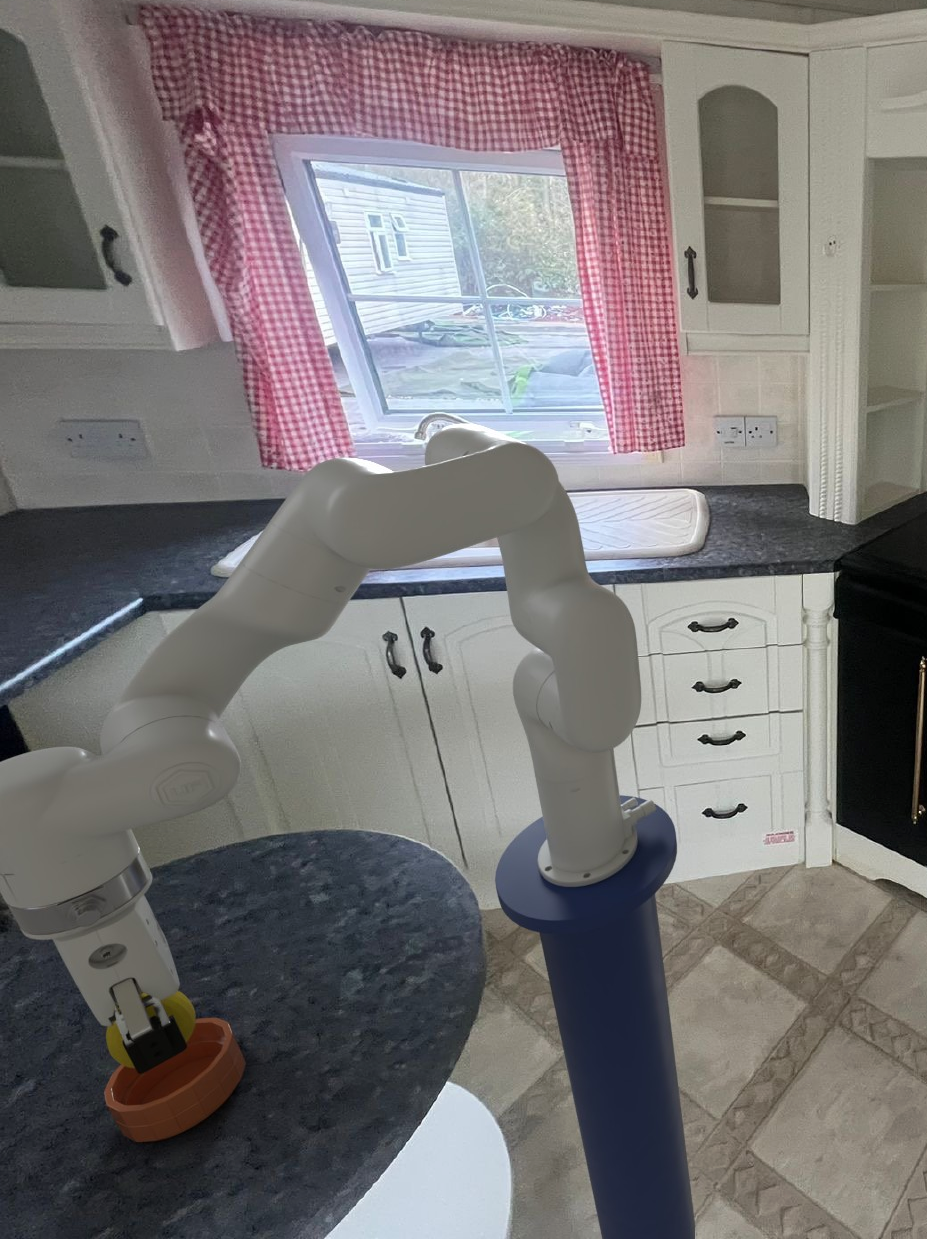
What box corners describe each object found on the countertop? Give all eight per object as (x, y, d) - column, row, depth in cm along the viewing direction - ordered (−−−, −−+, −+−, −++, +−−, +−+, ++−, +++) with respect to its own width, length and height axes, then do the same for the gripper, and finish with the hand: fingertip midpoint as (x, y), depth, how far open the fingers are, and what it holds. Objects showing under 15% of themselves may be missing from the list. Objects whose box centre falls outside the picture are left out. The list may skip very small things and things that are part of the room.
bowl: (235, 1034, 76) (220, 1001, 74) (256, 1091, 71) (240, 1056, 69) (118, 1100, 70) (99, 1066, 68) (132, 1168, 65) (111, 1132, 63)
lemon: (218, 1045, 69) (191, 986, 66) (140, 1099, 65) (107, 1038, 62) (191, 1018, 72) (163, 959, 69) (113, 1068, 67) (80, 1008, 64)
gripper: (163, 917, 58) (232, 1067, 65) (131, 816, 68) (194, 955, 75) (21, 981, 53) (111, 1138, 59) (8, 861, 63) (87, 1007, 69)
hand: (156, 1035), depth 67 cm, fingers closed on lemon, 5 cm apart
